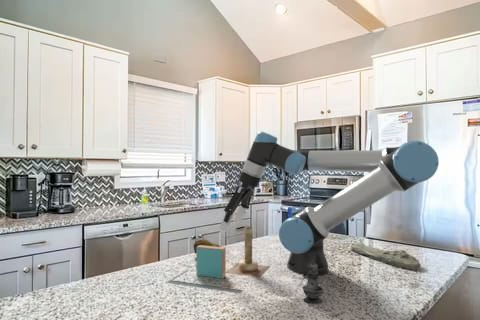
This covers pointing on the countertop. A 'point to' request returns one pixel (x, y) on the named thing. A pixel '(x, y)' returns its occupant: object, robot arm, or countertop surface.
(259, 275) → the board
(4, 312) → the countertop surface
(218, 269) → the tile
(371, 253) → the elongated rock
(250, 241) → the masher
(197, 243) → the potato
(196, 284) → the mat
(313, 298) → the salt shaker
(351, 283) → the countertop surface
